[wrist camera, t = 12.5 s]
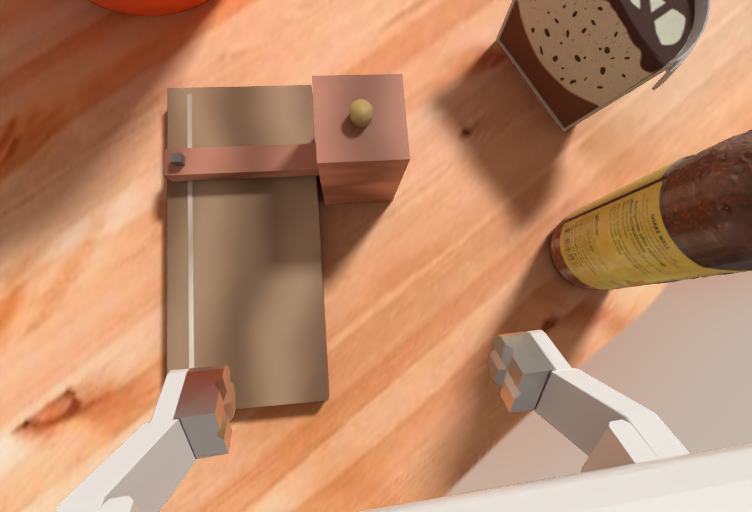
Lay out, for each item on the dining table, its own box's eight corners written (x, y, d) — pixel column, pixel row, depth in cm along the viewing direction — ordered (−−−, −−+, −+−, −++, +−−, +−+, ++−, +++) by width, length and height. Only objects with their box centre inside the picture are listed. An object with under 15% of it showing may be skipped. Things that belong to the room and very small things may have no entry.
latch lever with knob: (183, 211, 27) (108, 165, 19) (183, 145, 28) (111, 70, 19) (392, 201, 29) (412, 153, 20) (386, 137, 29) (404, 65, 21)
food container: (631, 110, 31) (762, 17, 22) (574, 147, 31) (683, 68, 21) (543, -8, 32) (629, -148, 22) (485, 25, 31) (549, -105, 22)
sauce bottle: (598, 307, 29) (1141, 298, 9) (530, 258, 29) (920, 146, 9) (639, 238, 30) (1205, 96, 10) (573, 191, 30) (1005, -37, 10)
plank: (177, 409, 25) (166, 415, 24) (176, 100, 28) (167, 87, 27) (329, 395, 26) (328, 400, 25) (312, 96, 29) (311, 84, 28)
